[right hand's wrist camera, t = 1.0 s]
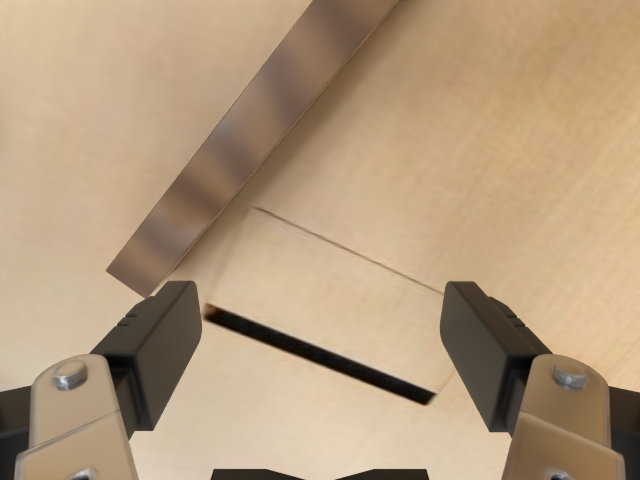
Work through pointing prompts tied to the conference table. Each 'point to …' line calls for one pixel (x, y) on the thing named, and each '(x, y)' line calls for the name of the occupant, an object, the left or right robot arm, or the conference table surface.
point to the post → (247, 136)
